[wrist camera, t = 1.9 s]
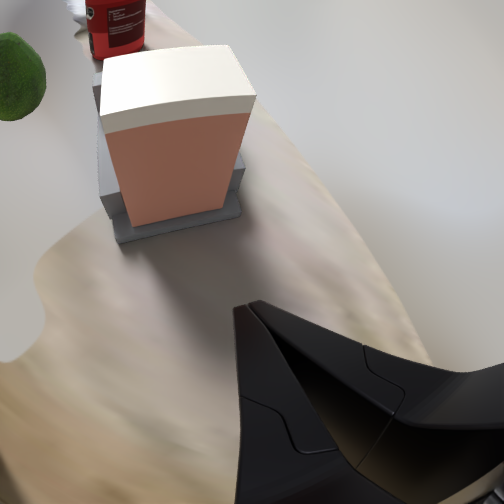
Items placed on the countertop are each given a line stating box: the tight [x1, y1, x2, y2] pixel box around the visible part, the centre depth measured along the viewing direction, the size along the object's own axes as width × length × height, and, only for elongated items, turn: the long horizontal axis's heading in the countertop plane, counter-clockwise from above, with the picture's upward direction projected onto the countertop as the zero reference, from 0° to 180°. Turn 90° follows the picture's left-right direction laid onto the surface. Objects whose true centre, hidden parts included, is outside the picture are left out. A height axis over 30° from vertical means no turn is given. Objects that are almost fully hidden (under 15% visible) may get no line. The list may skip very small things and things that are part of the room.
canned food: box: [85, 0, 146, 61], centre depth 24 cm, size 8×8×11 cm
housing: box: [93, 72, 245, 244], centre depth 20 cm, size 13×11×7 cm
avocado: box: [0, 32, 46, 121], centre depth 17 cm, size 8×8×12 cm
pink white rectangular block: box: [100, 45, 257, 227], centre depth 16 cm, size 5×7×11 cm
